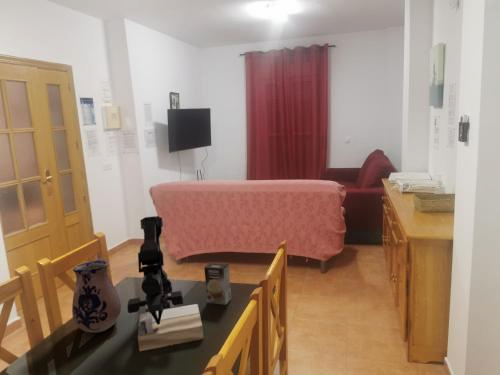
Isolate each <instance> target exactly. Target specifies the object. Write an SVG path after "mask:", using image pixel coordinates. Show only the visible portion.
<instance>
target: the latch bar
mask: <svg viewBox="0 0 500 375" xmlns="http://www.w3.org/2000/svg"><path fill="white" fill-rule="evenodd" d="M145 313H146V318H147V319H146V328H147V334H150V333H153V316H152V314H151V313H150V312H146V311H145Z"/></svg>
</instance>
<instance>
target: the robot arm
mask: <svg viewBox="0 0 500 375" xmlns="http://www.w3.org/2000/svg"><path fill="white" fill-rule="evenodd" d="M139 221H140V229H141V230H143V243H142V244H141V245H140V248H139V252H138V253H137V256H138V257H137V259H138V260H137V261H138V264H137V265H138V273H143V277H142V282H141V287H140V288H141V290H142V293H144V294H145V299H144V300H141V298H140V297H134V298H130V299H129V300H128V302H127V313H128V314H132V313H138V312H139V310H140V307H142V308H143V307H145V309H144V310H145V313H146V312H150V313H151V314H152V316H153V317H154V319H155V321H156V323H157V325H158V324H160V320H161V316H162V312H163V310H165V309H171V305H173V306H178V305H183V304H184V299H183V298H184V297H183V292H182V291H181V290H177V291H173V285H172V282H171V281H170V279H168V274H167V273H166V271H165V270H164V269H163V266H164V264H165V263H164V252H163V251H162V250H161V244H160V243H161V242H160V236H161V234H162V229H163V228H164V221H163V217H160V216H159V215H157V216H145V217H143V218H142V219H140V220H139ZM169 294H170V295H169ZM156 311H158V316H157V312H156Z"/></svg>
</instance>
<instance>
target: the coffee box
mask: <svg viewBox="0 0 500 375" xmlns="http://www.w3.org/2000/svg"><path fill="white" fill-rule="evenodd" d="M229 266H230V265H229V263H226V262H225V263H224V262H211V261H209V263H208V264H206V265H205V266H204V269H203V270H204V280H205V291H206V300H207V302H206V303H208V304H214V305H215V304H217V305H226V306H227V304H228V303H229V302H230V300H232V290H231V278H230V267H229Z"/></svg>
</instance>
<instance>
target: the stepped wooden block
mask: <svg viewBox="0 0 500 375" xmlns="http://www.w3.org/2000/svg"><path fill="white" fill-rule="evenodd" d="M202 323H203V322H202V318H201V314H200V313H199V314H194V315H189V316H183V317H178V318H172V319H166V320H161V321H160V324H158V325H157V323H156V321H155V322H153V333H150V334H147V328H146V323H145V320H142V321H140V320H138V326H137V327H138V331H137V341H138V342H137V343H138V350H139V352H143V351H144V352H145V351H148V350H152V349H159V348H163V347H168V346H169V345H170V346H173V345H174V344H175V345H179V344H185V343H189V342H194V341H201V340H204V332H203V330H204V329H203V328H204V327H203V324H202Z"/></svg>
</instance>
